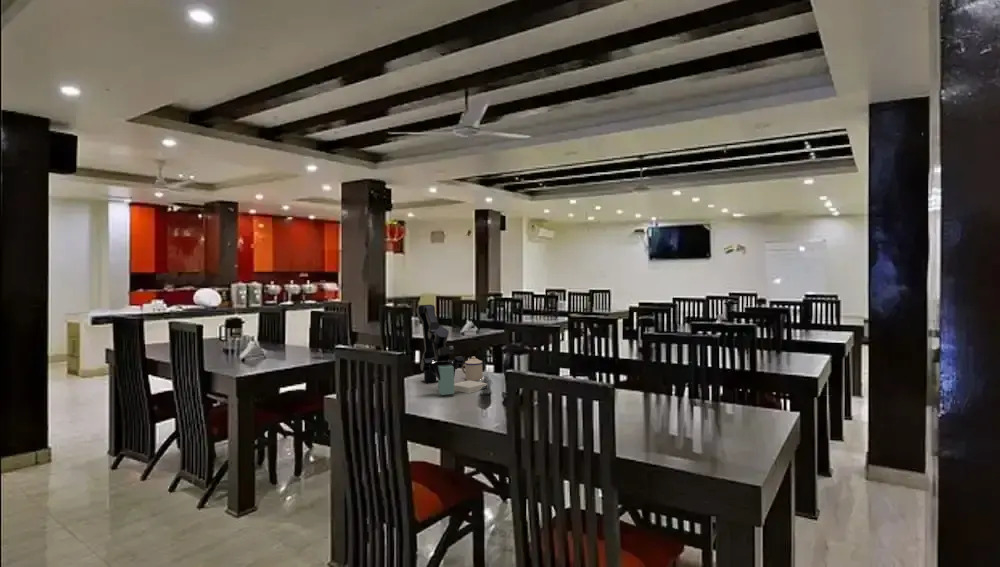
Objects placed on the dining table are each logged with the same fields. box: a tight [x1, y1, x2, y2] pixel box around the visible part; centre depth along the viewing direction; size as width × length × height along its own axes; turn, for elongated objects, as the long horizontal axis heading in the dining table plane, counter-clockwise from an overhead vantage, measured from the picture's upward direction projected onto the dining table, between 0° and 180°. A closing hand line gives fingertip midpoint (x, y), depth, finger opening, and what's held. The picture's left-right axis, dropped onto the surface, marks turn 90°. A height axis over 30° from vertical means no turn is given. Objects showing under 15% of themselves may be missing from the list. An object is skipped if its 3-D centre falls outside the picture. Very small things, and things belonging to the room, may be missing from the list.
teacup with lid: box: [461, 356, 484, 382], centre depth 301 cm, size 12×9×12 cm
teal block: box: [437, 365, 455, 396], centre depth 266 cm, size 5×6×12 cm
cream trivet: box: [454, 380, 488, 394], centre depth 278 cm, size 12×12×2 cm
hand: (446, 379), depth 264 cm, fingers closed on teal block, 6 cm apart
